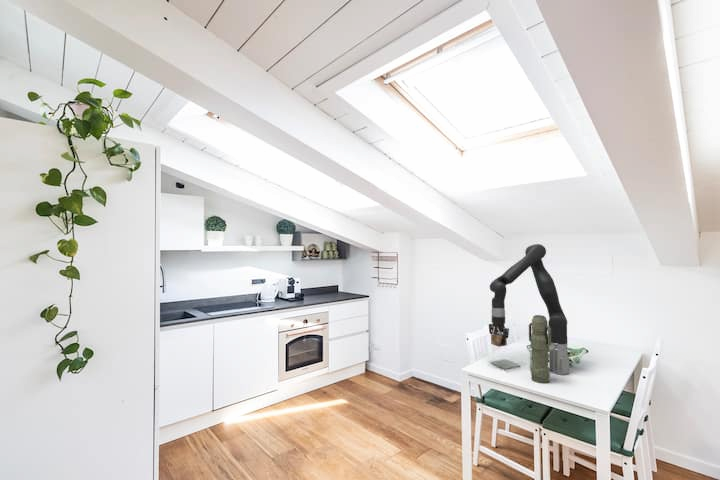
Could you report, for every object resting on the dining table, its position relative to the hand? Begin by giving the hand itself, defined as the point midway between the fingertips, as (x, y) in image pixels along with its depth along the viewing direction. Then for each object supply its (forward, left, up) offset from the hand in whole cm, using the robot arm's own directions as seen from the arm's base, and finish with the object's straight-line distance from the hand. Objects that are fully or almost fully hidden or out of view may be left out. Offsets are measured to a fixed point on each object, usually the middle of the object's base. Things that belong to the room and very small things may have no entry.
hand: (498, 343), depth 204 cm
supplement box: (-10, -20, -16) cm, 27 cm away
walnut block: (0, 0, -1) cm, 1 cm away
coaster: (+4, -9, -15) cm, 18 cm away
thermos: (-21, -9, -16) cm, 28 cm away
